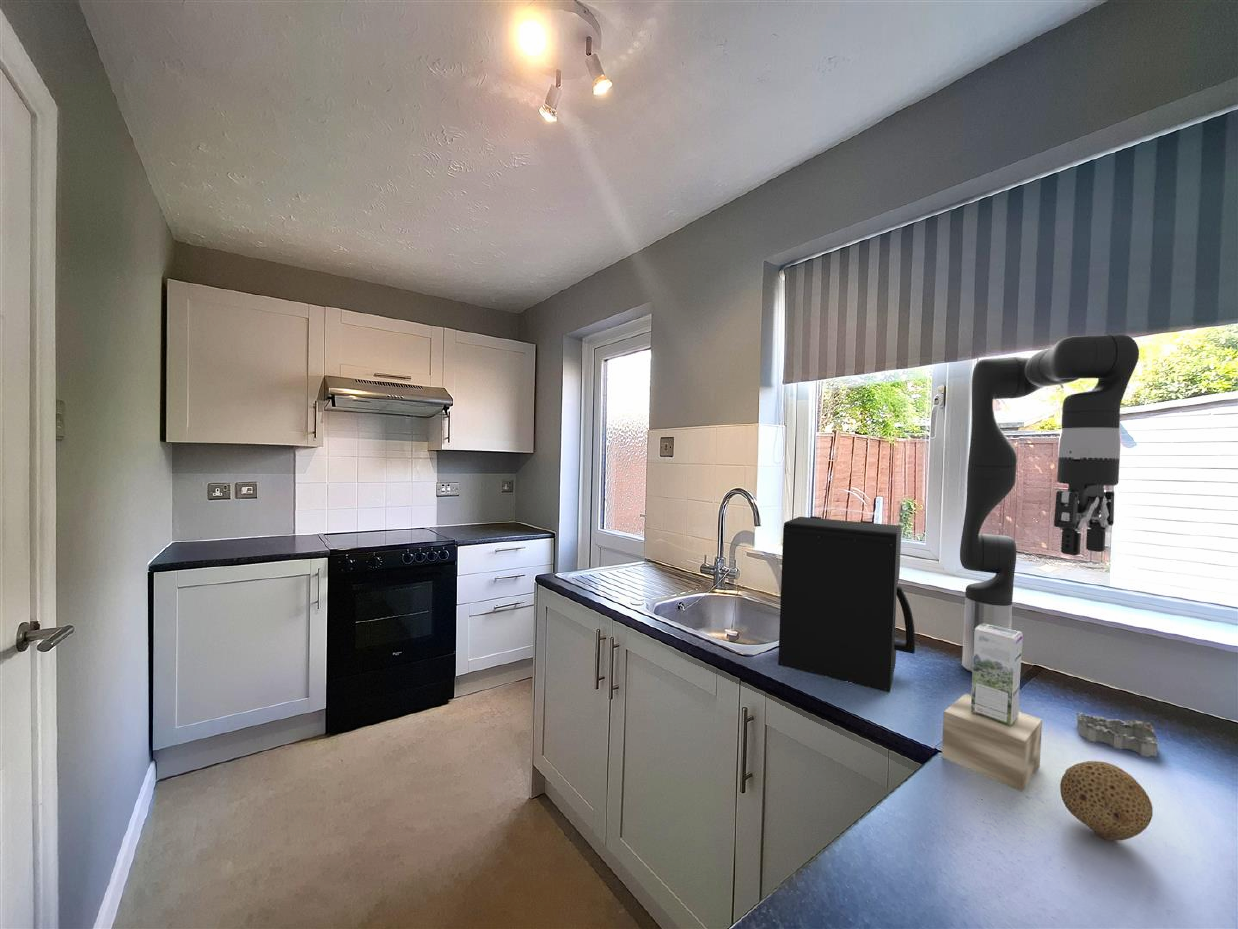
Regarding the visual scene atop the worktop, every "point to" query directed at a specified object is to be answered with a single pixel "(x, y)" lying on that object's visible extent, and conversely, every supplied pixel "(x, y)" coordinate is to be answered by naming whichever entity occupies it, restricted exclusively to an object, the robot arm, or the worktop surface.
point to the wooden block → (992, 744)
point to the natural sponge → (1106, 800)
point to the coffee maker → (842, 600)
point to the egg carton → (1119, 733)
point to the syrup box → (996, 673)
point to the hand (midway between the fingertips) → (1082, 552)
